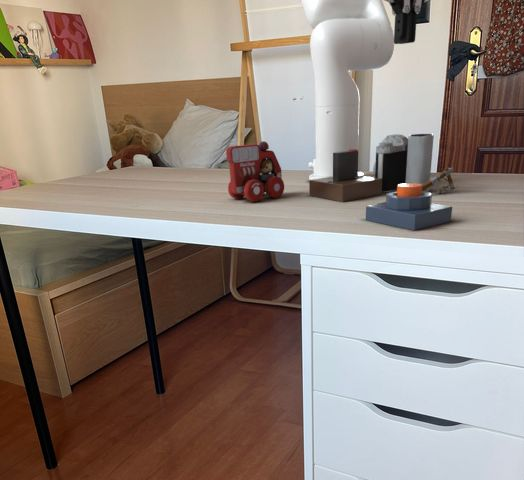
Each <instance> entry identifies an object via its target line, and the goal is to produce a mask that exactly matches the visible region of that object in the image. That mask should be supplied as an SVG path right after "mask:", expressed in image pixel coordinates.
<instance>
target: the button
mask: <svg viewBox="0 0 524 480" xmlns="http://www.w3.org/2000/svg"><path fill="white" fill-rule="evenodd" d="M396 191H397V196H402V197H414V196H421V193H422V184H418V183H403V184H399V185H397V190H396Z"/></svg>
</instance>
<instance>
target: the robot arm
mask: <svg viewBox="0 0 524 480" xmlns="http://www.w3.org/2000/svg"><path fill="white" fill-rule="evenodd" d="M384 1H385V2H387V3H388V4H389V6H390V7H391V13H392V15H393V16H394V29H393V26H392V23H391V21H390V18H389V16H388V13H387V10H386V7H385V4H384V2H383V0H300V3H301V6H302V9H303V12H304V15H305V19H306V20H307V23H308V24H309V26H310V27H311V28H312V29H313V30H312V31H311V34H310V39H309V49H310V50H309V51H310V57H311V63H312V70H313V78H314V116H315V120H314V121H315V122H314V123H315V125H314V127H315V131H314V133H315V134H314V135H315V136H314V137H315V158H313V160H312V161H309V162H308V163H307V164H308V166H307V167H308V168H309V169H313V173H310V175H309V176H308V181H309V180H313V179H320V178H326V177H329V176H333V153H335V152H343V151H349V149H357V151H358V152H359V135H360V134H359V131H360V129H359V128H360V91H359V88H358V86H357V84H356V81H355V80H354V78H353V77H352V75H351V72H356V71H374V70H379V69H382V68H384V67H385V66H387V65H388V64H389V62H391V60H392V57H393V55H394V52H395V51H394V50H395V45H405V44H412V43H415V42H416V35H417V34H416V33H417V21H418V20H417V17H418V14H420V12H421V8H422V6H423V4H425V3H427V2H429V1H431V0H384ZM358 175H359V176H362V175H363V176H365V173H364V172H362V171H358Z"/></svg>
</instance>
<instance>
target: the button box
mask: <svg viewBox="0 0 524 480" xmlns="http://www.w3.org/2000/svg"><path fill="white" fill-rule="evenodd" d="M432 198H433V193H431V192H429V191H428V192H425V191H422V193H421V196H414V197H402V196H397V190H394V191H389V192H387V193H386V195H385V201H383V202H378V203H373V204H369V205H366V206H365V221H369V222H373V223H378V224H382V225H387V226H392V227H396V228H400V229H405V230H411V231H418V230H421V229H426V228H430V227H433V226H437V225H443V224H446V223H450V222H452V215H453V213H452V212H453V206H450V205H445V204H438V203H433V202H432V200H433V199H432Z"/></svg>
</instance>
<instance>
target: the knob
mask: <svg viewBox="0 0 524 480" xmlns="http://www.w3.org/2000/svg"><path fill="white" fill-rule="evenodd" d="M358 172H359V150H358V151H357V149H349V151H343V152H335V153H333V180H335V181H341V180H347V179H353V178H358Z"/></svg>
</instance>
